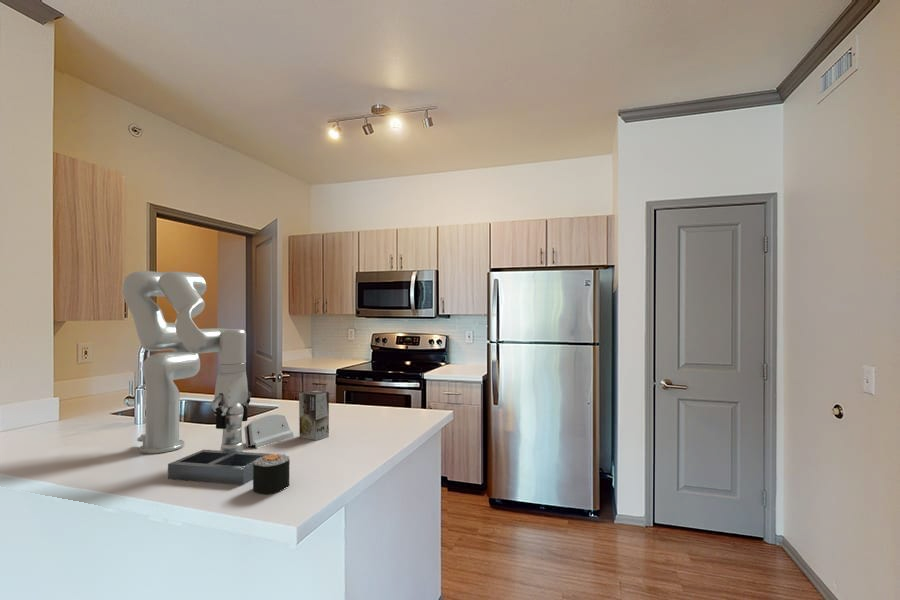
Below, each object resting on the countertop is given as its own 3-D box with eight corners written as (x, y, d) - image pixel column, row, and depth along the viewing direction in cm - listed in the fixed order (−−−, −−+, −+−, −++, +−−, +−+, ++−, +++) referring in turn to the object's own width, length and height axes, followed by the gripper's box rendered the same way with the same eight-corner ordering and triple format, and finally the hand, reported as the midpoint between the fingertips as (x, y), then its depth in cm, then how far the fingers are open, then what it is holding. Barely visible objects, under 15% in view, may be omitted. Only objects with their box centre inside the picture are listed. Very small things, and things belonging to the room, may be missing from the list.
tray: (167, 478, 122) (168, 463, 122) (203, 463, 134) (203, 449, 134) (243, 484, 117) (243, 469, 117) (272, 467, 130) (272, 453, 130)
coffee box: (329, 436, 163) (329, 391, 163) (315, 440, 157) (315, 394, 158) (312, 433, 168) (312, 389, 168) (298, 437, 162) (298, 392, 163)
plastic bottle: (238, 453, 143) (239, 390, 144) (246, 458, 138) (247, 393, 139) (217, 458, 139) (217, 393, 139) (224, 463, 134) (225, 395, 135)
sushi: (246, 491, 113) (246, 459, 113) (272, 480, 120) (272, 450, 120) (270, 496, 109) (271, 463, 110) (295, 484, 117) (295, 453, 117)
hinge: (256, 449, 148) (249, 419, 150) (246, 452, 150) (240, 422, 152) (294, 436, 163) (288, 409, 165) (285, 439, 165) (279, 412, 167)
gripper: (240, 365, 149) (239, 417, 148) (201, 372, 132) (200, 431, 131) (260, 366, 147) (260, 418, 147) (223, 372, 130) (223, 432, 130)
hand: (232, 424), depth 139 cm, fingers open, 9 cm apart
